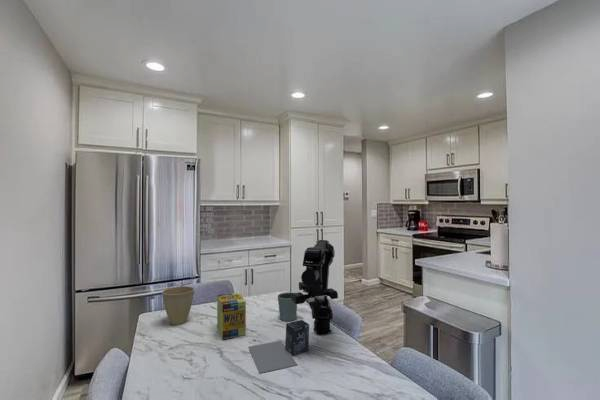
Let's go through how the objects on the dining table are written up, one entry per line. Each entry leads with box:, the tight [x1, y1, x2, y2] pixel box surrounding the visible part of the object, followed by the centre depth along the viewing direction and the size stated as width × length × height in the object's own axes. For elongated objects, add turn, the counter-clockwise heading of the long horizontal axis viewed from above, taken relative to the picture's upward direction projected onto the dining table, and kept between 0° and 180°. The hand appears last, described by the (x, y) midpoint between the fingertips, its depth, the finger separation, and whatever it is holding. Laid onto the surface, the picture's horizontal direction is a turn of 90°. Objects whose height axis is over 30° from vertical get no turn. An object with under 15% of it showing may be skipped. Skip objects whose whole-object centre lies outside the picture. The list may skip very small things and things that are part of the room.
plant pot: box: [161, 285, 195, 326], centre depth 145 cm, size 15×15×16 cm
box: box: [284, 319, 310, 356], centre depth 115 cm, size 8×6×11 cm
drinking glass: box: [277, 291, 298, 323], centre depth 148 cm, size 10×10×12 cm
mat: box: [247, 340, 298, 375], centre depth 111 cm, size 14×20×1 cm
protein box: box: [216, 292, 247, 341], centre depth 133 cm, size 10×15×16 cm
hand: (315, 316), depth 118 cm, fingers closed
